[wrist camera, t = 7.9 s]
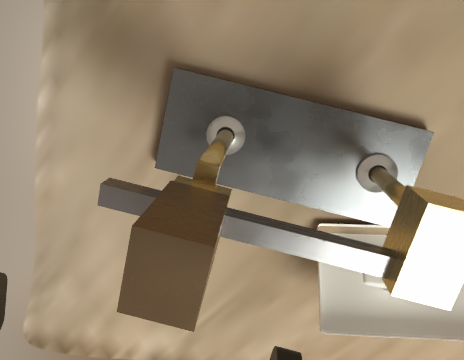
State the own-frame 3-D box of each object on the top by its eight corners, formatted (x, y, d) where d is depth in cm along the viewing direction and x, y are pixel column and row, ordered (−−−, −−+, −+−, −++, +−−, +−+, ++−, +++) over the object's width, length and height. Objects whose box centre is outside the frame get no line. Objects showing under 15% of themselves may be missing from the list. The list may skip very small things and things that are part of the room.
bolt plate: (427, 130, 31) (436, 133, 29) (391, 223, 33) (398, 231, 31) (176, 67, 31) (172, 67, 29) (158, 164, 33) (153, 169, 32)
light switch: (314, 334, 33) (496, 343, 32) (323, 333, 29) (533, 343, 28) (312, 235, 36) (477, 240, 35) (319, 220, 32) (507, 225, 31)
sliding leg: (246, 134, 30) (222, 213, 13) (231, 195, 31) (193, 331, 15) (207, 125, 30) (138, 191, 14) (194, 185, 31) (116, 311, 15)
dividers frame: (404, 160, 30) (492, 219, 18) (381, 220, 31) (450, 310, 20) (166, 101, 30) (102, 121, 18) (154, 163, 31) (89, 218, 20)
